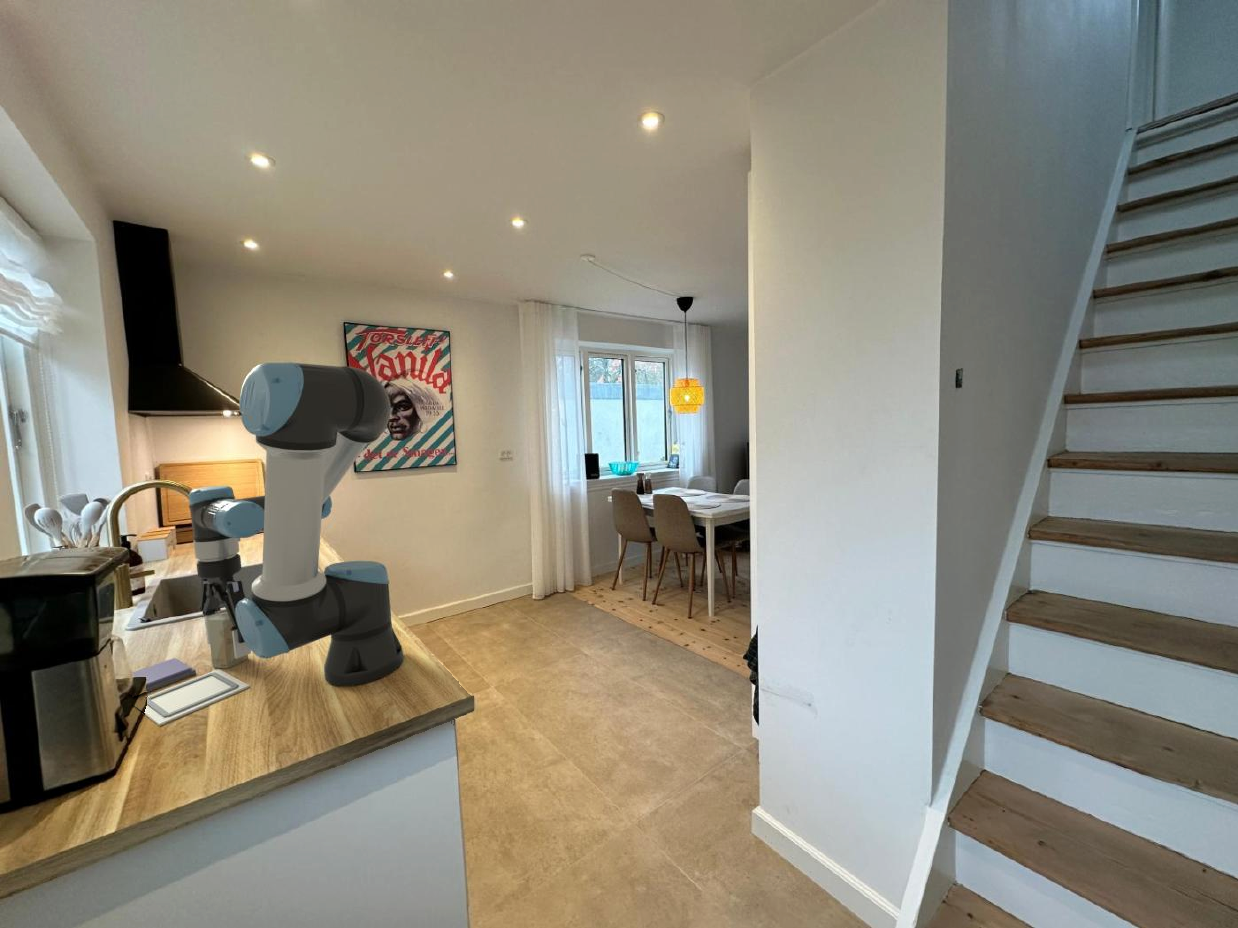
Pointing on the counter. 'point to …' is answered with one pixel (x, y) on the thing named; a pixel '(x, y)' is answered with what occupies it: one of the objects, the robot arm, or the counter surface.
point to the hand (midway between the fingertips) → (228, 648)
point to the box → (222, 642)
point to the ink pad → (164, 673)
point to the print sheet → (191, 696)
